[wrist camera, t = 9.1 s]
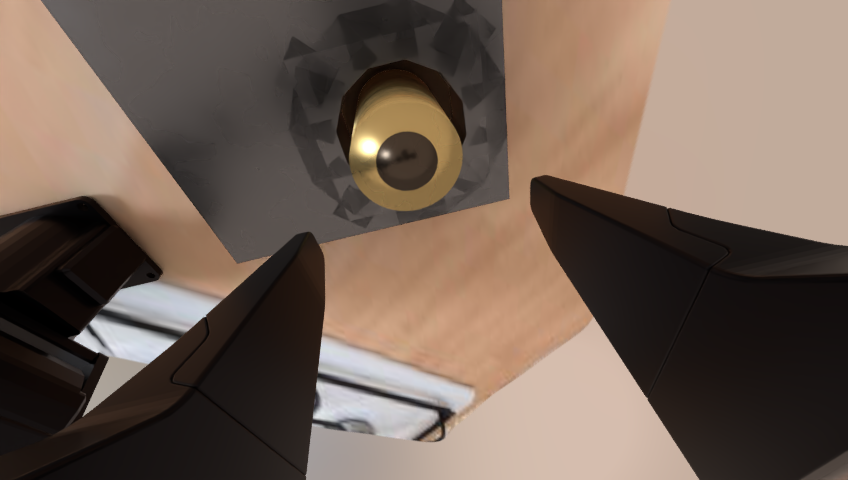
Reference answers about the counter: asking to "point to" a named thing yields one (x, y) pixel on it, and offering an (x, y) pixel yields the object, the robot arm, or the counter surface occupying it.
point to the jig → (290, 102)
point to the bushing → (403, 143)
